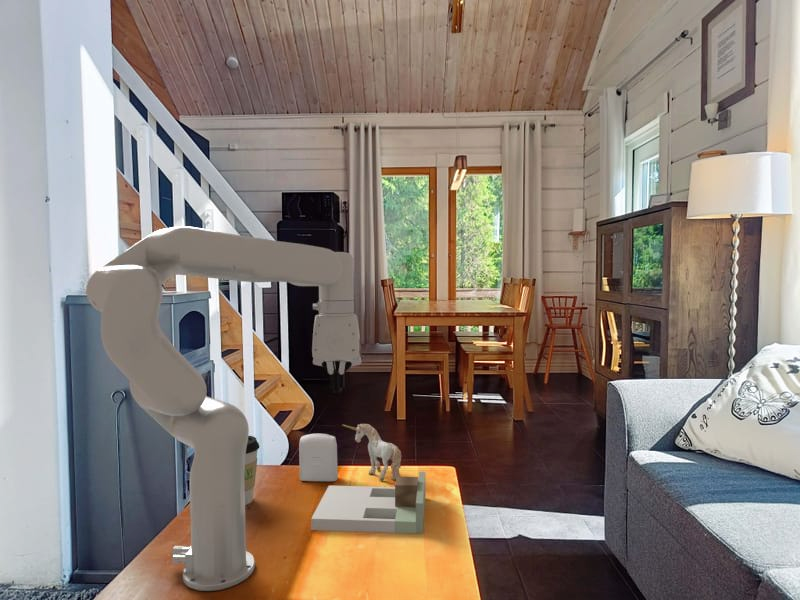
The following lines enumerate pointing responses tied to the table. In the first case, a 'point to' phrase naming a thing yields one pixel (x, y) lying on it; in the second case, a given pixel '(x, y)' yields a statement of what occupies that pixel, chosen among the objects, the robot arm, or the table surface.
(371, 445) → the unicorn figurine
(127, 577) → the table surface
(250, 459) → the coffee cup
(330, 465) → the photo printer
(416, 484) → the walnut block
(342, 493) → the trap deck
